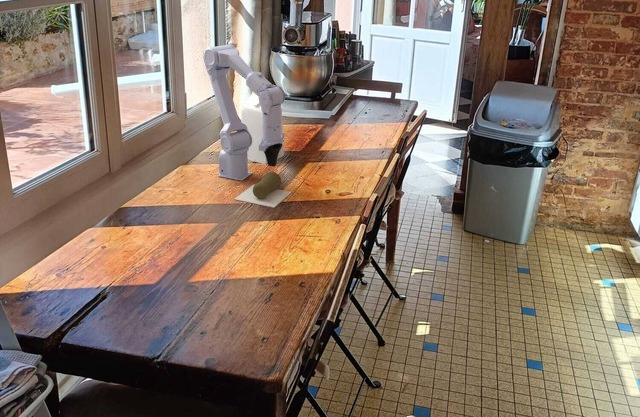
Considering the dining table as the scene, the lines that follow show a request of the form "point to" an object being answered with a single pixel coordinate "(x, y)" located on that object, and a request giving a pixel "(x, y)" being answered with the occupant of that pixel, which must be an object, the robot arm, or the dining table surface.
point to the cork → (267, 185)
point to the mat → (269, 201)
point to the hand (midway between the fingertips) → (271, 165)
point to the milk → (256, 128)
